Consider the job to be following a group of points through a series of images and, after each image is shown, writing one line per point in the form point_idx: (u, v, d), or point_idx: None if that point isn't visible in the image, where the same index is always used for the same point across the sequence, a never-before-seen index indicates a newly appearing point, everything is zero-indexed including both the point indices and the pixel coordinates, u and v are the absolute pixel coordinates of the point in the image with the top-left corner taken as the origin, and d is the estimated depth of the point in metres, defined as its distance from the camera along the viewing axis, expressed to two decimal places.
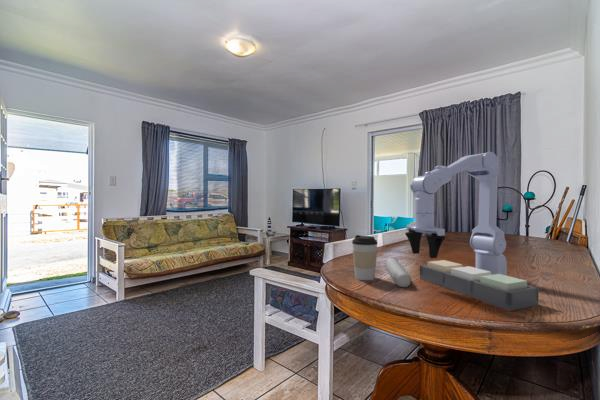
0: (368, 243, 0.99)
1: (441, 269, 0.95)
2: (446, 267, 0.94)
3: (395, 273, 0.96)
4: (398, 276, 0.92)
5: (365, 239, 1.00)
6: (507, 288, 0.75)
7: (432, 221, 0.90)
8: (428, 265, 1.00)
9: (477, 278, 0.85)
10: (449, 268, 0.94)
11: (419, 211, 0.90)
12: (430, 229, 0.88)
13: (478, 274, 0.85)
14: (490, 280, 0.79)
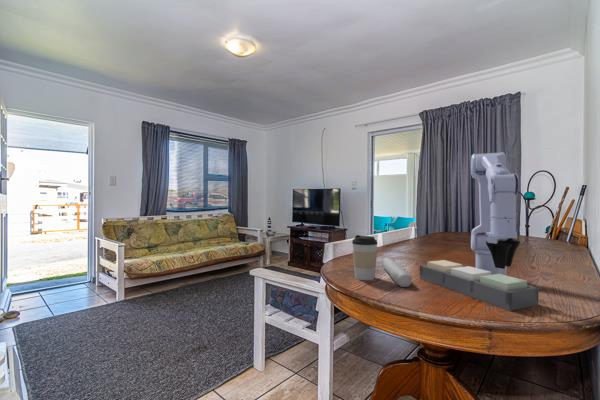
0: (368, 243, 0.99)
1: (441, 269, 0.95)
2: (446, 267, 0.94)
3: (396, 273, 0.96)
4: (399, 276, 0.92)
5: (365, 239, 1.00)
6: (507, 288, 0.75)
7: (501, 227, 0.77)
8: (428, 265, 1.00)
9: (477, 278, 0.85)
10: (449, 268, 0.94)
11: (509, 216, 0.77)
12: None
13: (478, 274, 0.85)
14: (490, 280, 0.79)
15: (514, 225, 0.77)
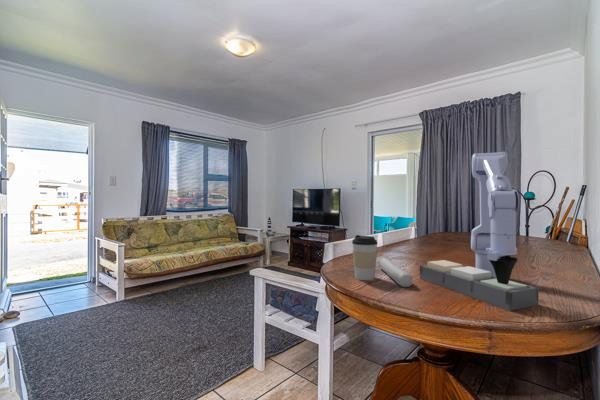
0: (368, 243, 0.99)
1: (441, 269, 0.95)
2: (446, 267, 0.94)
3: (396, 273, 0.96)
4: (401, 276, 0.92)
5: (365, 239, 1.00)
6: None
7: (501, 244, 0.77)
8: (428, 265, 1.00)
9: (477, 278, 0.85)
10: (449, 268, 0.94)
11: (509, 233, 0.77)
12: None
13: (478, 274, 0.85)
14: (490, 285, 0.79)
15: (514, 242, 0.77)
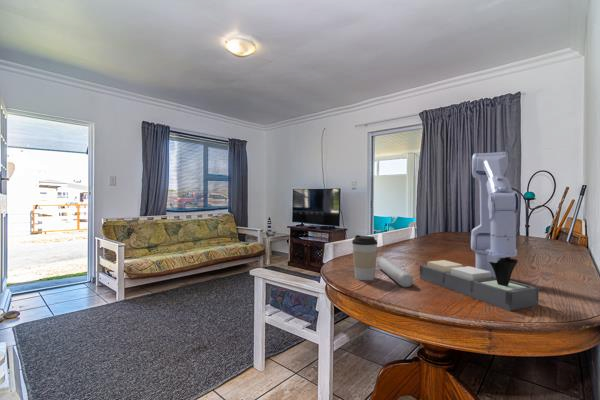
0: (368, 243, 0.99)
1: (441, 269, 0.95)
2: (446, 267, 0.94)
3: (396, 273, 0.96)
4: (401, 276, 0.92)
5: (365, 239, 1.00)
6: None
7: (501, 246, 0.77)
8: (428, 265, 1.00)
9: (477, 278, 0.85)
10: (449, 268, 0.94)
11: (509, 234, 0.77)
12: (489, 253, 0.78)
13: (478, 274, 0.85)
14: None
15: (514, 244, 0.77)
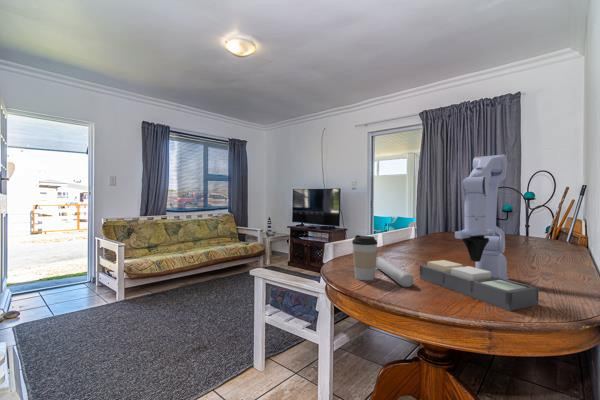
0: (368, 243, 0.99)
1: (441, 269, 0.95)
2: (446, 267, 0.94)
3: (397, 273, 0.96)
4: (402, 276, 0.92)
5: (365, 239, 1.00)
6: None
7: (470, 225, 0.86)
8: (428, 265, 1.00)
9: (477, 278, 0.85)
10: (449, 268, 0.94)
11: (476, 214, 0.85)
12: None
13: (478, 274, 0.85)
14: None
15: (483, 223, 0.85)
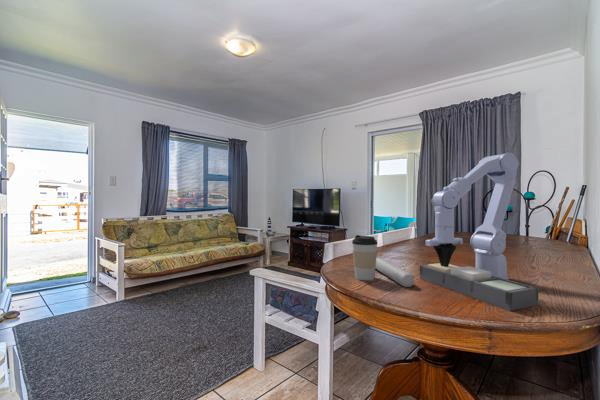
0: (368, 243, 0.99)
1: None
2: (446, 270, 0.94)
3: (397, 273, 0.95)
4: (403, 276, 0.92)
5: (365, 239, 1.00)
6: None
7: (439, 234, 0.97)
8: None
9: (477, 278, 0.85)
10: (449, 271, 0.94)
11: (439, 224, 0.97)
12: None
13: (478, 274, 0.85)
14: None
15: (450, 232, 0.96)
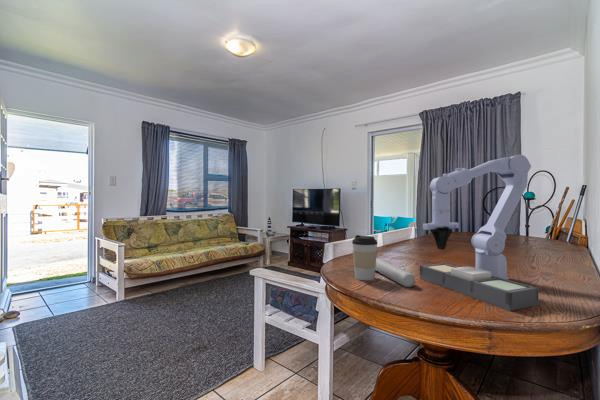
0: (368, 243, 0.99)
1: None
2: None
3: (398, 273, 0.95)
4: (404, 276, 0.92)
5: (365, 239, 1.00)
6: None
7: (436, 218, 1.00)
8: None
9: (477, 278, 0.85)
10: None
11: (434, 209, 1.01)
12: None
13: (478, 274, 0.85)
14: None
15: (446, 216, 0.99)
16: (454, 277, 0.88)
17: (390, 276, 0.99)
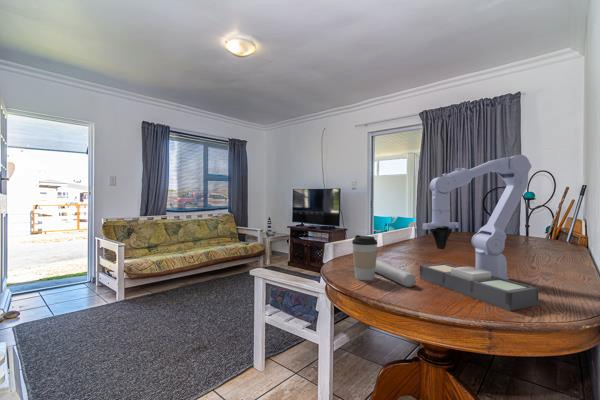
0: (368, 243, 0.99)
1: None
2: None
3: (398, 273, 0.95)
4: (405, 276, 0.92)
5: (365, 239, 1.00)
6: None
7: (436, 217, 1.01)
8: None
9: (477, 278, 0.85)
10: None
11: (434, 208, 1.01)
12: None
13: (478, 274, 0.85)
14: None
15: (446, 216, 0.99)
16: (454, 277, 0.88)
17: (390, 276, 0.99)
